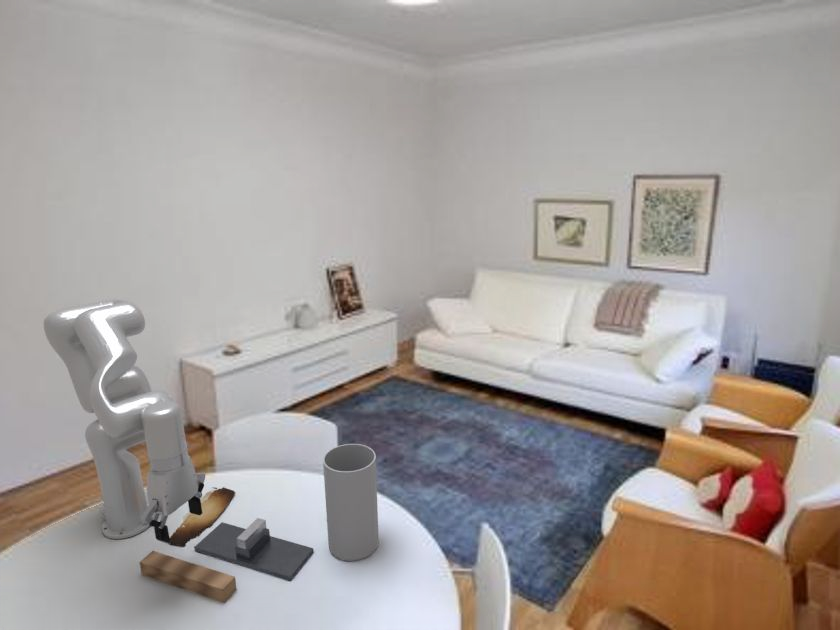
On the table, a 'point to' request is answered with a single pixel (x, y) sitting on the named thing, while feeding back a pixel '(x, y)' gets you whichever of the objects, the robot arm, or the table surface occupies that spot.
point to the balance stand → (255, 549)
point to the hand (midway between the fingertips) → (180, 526)
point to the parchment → (202, 516)
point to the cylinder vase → (351, 501)
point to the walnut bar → (188, 576)
